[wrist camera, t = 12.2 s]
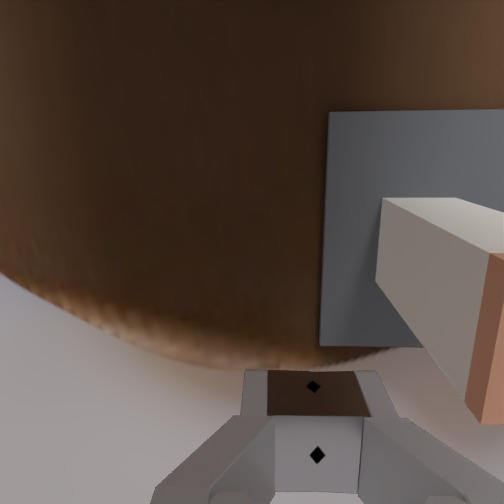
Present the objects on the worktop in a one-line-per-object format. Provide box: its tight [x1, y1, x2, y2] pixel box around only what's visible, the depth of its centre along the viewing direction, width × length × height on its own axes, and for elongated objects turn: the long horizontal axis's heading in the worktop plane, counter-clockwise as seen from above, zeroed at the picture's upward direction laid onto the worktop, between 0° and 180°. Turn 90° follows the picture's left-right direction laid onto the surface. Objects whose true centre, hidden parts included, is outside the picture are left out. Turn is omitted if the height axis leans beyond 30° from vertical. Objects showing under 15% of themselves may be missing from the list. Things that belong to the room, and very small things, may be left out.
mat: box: [319, 109, 504, 348], centre depth 22 cm, size 18×14×1 cm
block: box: [375, 198, 504, 425], centre depth 16 cm, size 4×5×12 cm
